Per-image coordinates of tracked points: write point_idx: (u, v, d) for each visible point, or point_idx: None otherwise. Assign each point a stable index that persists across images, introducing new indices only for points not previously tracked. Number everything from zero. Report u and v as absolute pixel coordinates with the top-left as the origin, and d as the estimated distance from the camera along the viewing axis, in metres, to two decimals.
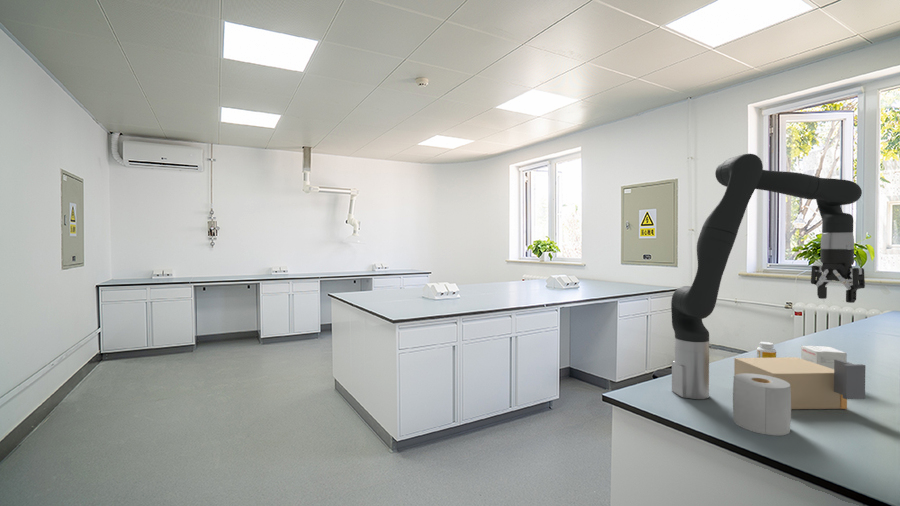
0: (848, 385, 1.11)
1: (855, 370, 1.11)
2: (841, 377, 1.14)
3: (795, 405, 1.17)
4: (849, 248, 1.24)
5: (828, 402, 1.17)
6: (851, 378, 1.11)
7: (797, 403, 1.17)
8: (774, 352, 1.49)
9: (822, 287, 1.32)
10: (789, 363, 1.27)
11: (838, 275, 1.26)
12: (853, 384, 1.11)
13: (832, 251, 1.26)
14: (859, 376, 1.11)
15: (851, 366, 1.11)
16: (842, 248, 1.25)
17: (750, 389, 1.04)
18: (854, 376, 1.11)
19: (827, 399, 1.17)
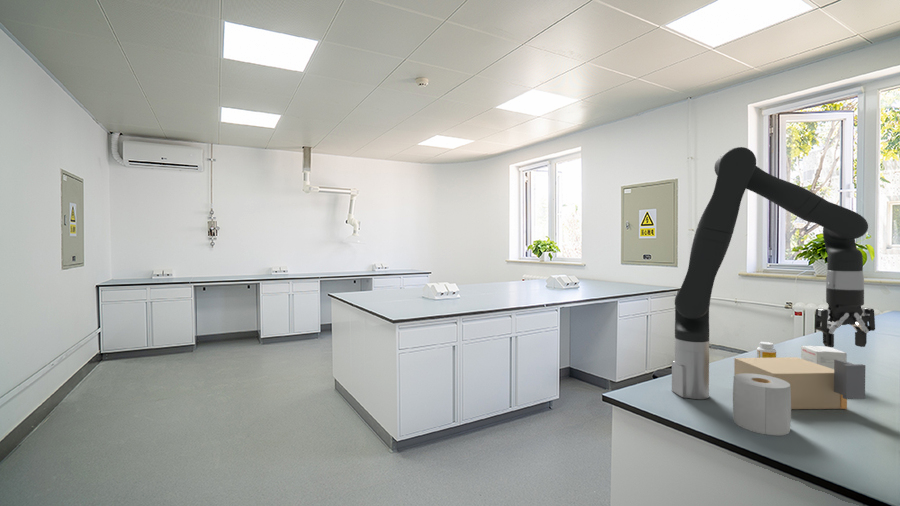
0: (848, 385, 1.11)
1: (855, 370, 1.11)
2: (841, 377, 1.14)
3: (795, 405, 1.17)
4: None
5: (828, 402, 1.17)
6: (851, 378, 1.11)
7: (797, 403, 1.17)
8: (774, 352, 1.49)
9: None
10: (789, 363, 1.27)
11: (858, 318, 1.12)
12: (853, 384, 1.11)
13: (863, 292, 1.10)
14: (859, 376, 1.11)
15: (851, 366, 1.11)
16: None
17: (750, 389, 1.04)
18: (854, 376, 1.11)
19: (827, 399, 1.17)
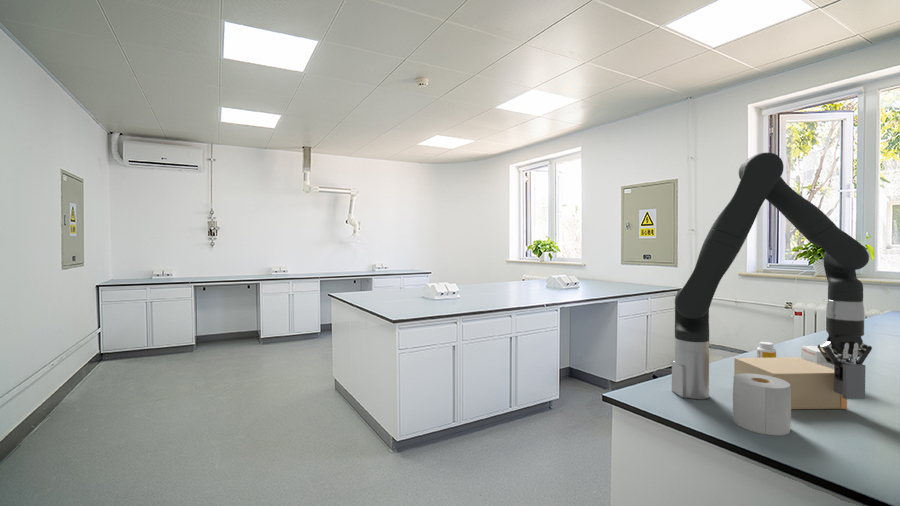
0: (848, 385, 1.11)
1: (855, 370, 1.11)
2: None
3: (795, 405, 1.17)
4: None
5: (828, 402, 1.17)
6: (851, 378, 1.11)
7: (797, 403, 1.17)
8: (774, 352, 1.49)
9: None
10: (789, 363, 1.27)
11: (855, 350, 1.12)
12: (853, 384, 1.11)
13: (863, 323, 1.11)
14: (859, 376, 1.11)
15: (851, 366, 1.11)
16: None
17: (750, 389, 1.04)
18: (854, 376, 1.11)
19: (827, 399, 1.17)
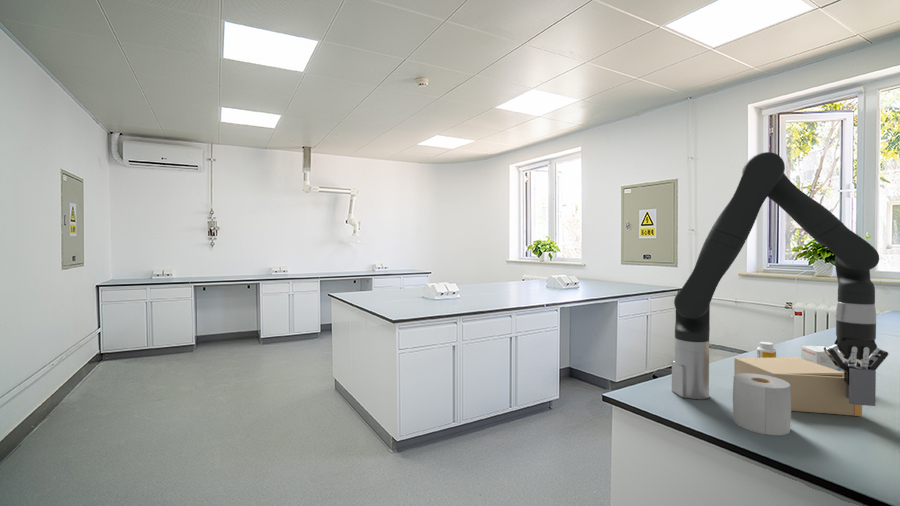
0: (854, 390, 1.07)
1: (863, 375, 1.07)
2: None
3: (798, 407, 1.15)
4: None
5: (839, 407, 1.13)
6: (858, 383, 1.07)
7: (800, 405, 1.15)
8: (774, 352, 1.49)
9: None
10: (789, 363, 1.27)
11: (866, 354, 1.08)
12: (860, 389, 1.07)
13: (872, 326, 1.06)
14: (868, 382, 1.07)
15: (858, 370, 1.07)
16: (875, 322, 1.07)
17: (750, 389, 1.04)
18: (861, 381, 1.07)
19: (837, 404, 1.13)
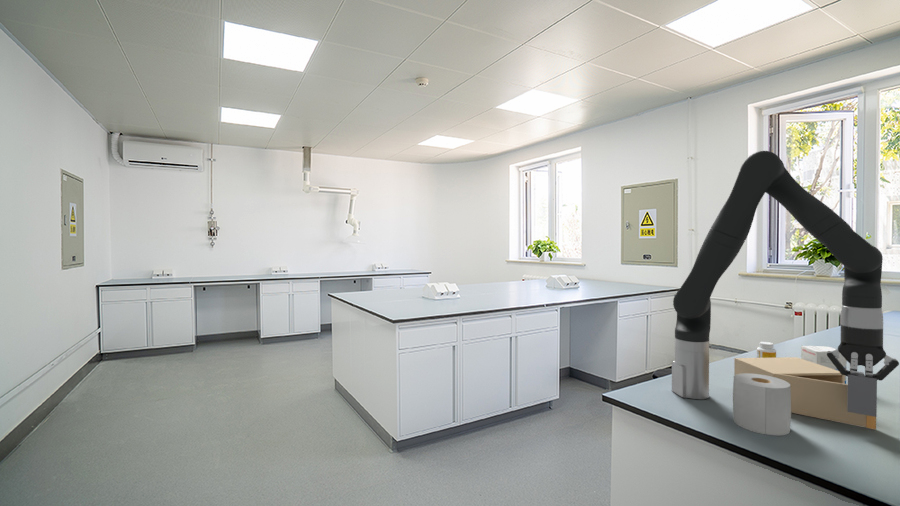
0: (850, 397, 1.03)
1: (861, 382, 1.01)
2: None
3: (800, 410, 1.13)
4: None
5: (848, 417, 1.07)
6: (855, 390, 1.02)
7: (802, 408, 1.13)
8: (774, 352, 1.49)
9: None
10: (789, 363, 1.27)
11: (869, 361, 1.01)
12: (858, 397, 1.02)
13: (872, 332, 1.00)
14: (867, 390, 1.01)
15: (855, 377, 1.02)
16: (881, 328, 1.00)
17: (750, 389, 1.04)
18: (859, 389, 1.01)
19: (846, 413, 1.07)
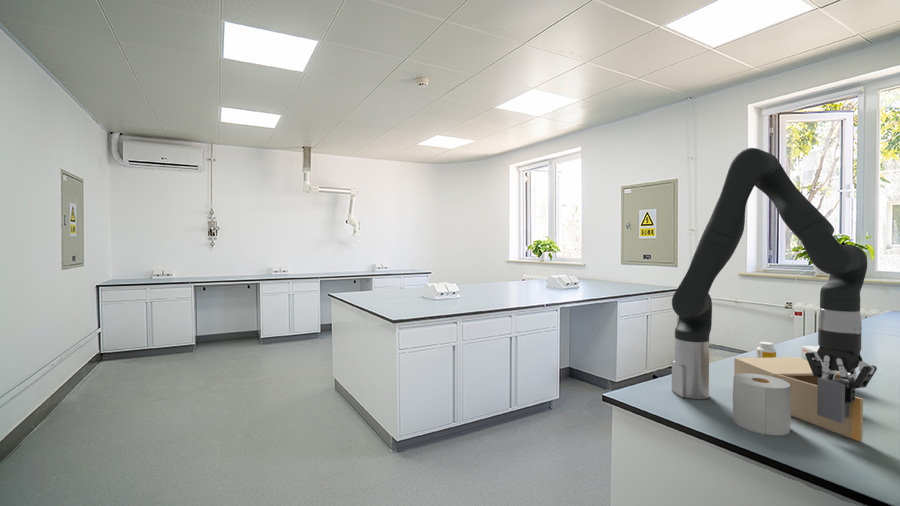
0: (819, 400, 1.01)
1: (828, 386, 0.99)
2: None
3: (795, 413, 1.11)
4: (858, 332, 0.96)
5: (835, 425, 1.02)
6: (823, 394, 1.00)
7: (796, 411, 1.11)
8: (774, 352, 1.49)
9: None
10: (789, 363, 1.27)
11: (841, 366, 0.98)
12: (826, 401, 0.99)
13: (837, 335, 0.97)
14: (834, 395, 0.98)
15: (824, 380, 1.00)
16: (850, 332, 0.96)
17: (750, 389, 1.04)
18: (827, 393, 0.99)
19: (834, 421, 1.03)
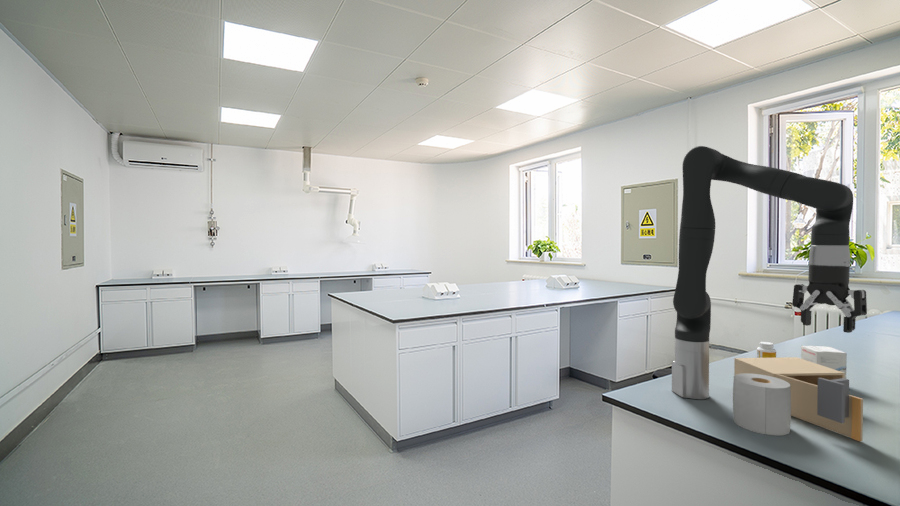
0: (819, 400, 1.01)
1: (828, 386, 0.99)
2: None
3: (795, 413, 1.11)
4: (847, 265, 1.00)
5: (835, 425, 1.02)
6: (823, 394, 1.00)
7: (796, 411, 1.11)
8: (774, 352, 1.49)
9: (807, 311, 1.08)
10: (789, 363, 1.27)
11: (833, 298, 1.01)
12: (826, 401, 0.99)
13: (828, 268, 1.01)
14: (834, 395, 0.98)
15: (824, 380, 1.00)
16: (840, 265, 1.00)
17: (750, 389, 1.04)
18: (827, 393, 0.99)
19: (834, 421, 1.03)
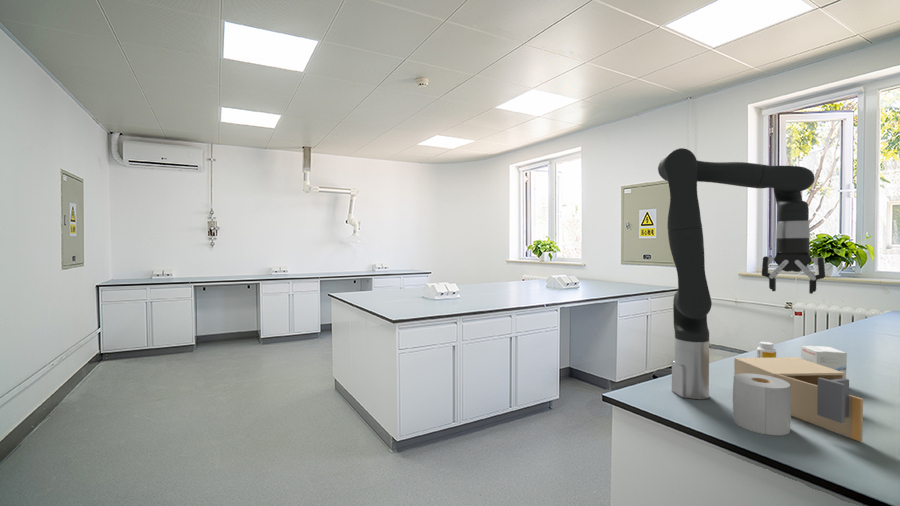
0: (819, 400, 1.01)
1: (828, 386, 0.99)
2: None
3: (795, 413, 1.11)
4: (809, 237, 1.20)
5: (835, 425, 1.02)
6: (823, 394, 1.00)
7: (796, 411, 1.11)
8: (774, 352, 1.49)
9: (774, 279, 1.25)
10: (789, 363, 1.27)
11: (801, 265, 1.20)
12: (826, 401, 0.99)
13: (798, 240, 1.19)
14: (834, 395, 0.98)
15: (824, 380, 1.00)
16: (806, 237, 1.19)
17: (750, 389, 1.04)
18: (827, 393, 0.99)
19: (834, 421, 1.03)
